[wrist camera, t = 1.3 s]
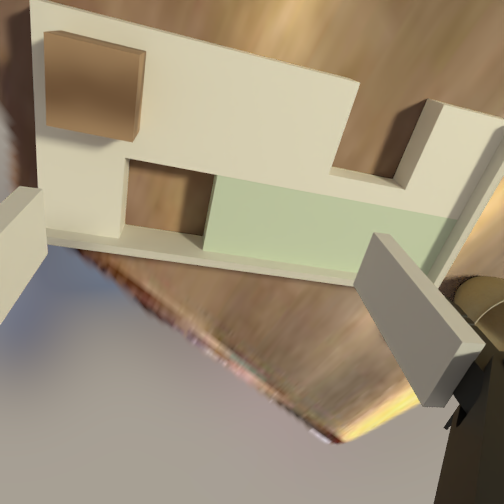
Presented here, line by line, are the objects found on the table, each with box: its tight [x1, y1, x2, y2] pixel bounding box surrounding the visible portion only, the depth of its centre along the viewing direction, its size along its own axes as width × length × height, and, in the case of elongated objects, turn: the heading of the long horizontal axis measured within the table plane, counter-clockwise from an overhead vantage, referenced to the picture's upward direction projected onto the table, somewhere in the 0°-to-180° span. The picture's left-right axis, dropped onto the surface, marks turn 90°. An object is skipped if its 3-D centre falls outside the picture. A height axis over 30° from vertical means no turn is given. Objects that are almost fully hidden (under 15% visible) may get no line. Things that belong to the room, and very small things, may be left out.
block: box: [43, 30, 146, 142], centre depth 28 cm, size 6×6×4 cm
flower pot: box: [454, 276, 504, 351], centre depth 46 cm, size 10×10×7 cm
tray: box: [30, 0, 504, 289], centre depth 36 cm, size 19×41×4 cm, turn 77°
